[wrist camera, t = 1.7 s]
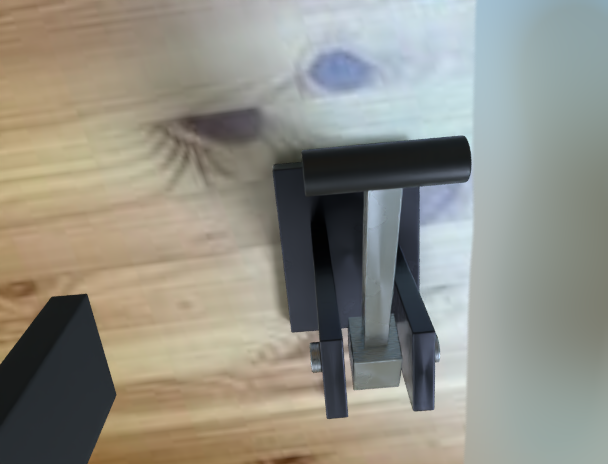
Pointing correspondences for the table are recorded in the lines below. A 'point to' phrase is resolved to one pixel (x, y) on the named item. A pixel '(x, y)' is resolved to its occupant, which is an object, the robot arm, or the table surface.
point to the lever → (382, 231)
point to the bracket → (349, 283)
